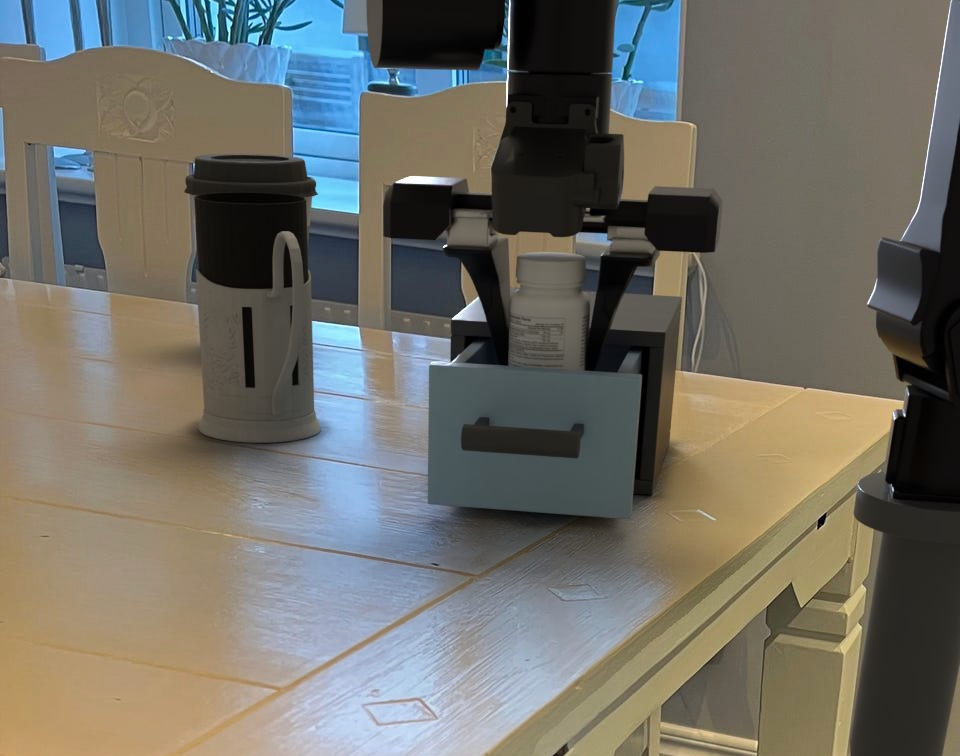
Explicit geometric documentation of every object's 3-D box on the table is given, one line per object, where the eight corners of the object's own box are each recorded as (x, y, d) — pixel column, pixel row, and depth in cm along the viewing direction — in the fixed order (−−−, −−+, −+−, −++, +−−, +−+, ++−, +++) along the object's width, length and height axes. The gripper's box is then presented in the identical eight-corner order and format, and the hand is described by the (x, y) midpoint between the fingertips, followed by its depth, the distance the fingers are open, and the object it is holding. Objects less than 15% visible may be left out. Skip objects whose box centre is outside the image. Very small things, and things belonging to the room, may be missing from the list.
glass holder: (298, 411, 120) (292, 190, 112) (365, 455, 109) (362, 213, 101) (184, 419, 116) (169, 191, 109) (241, 465, 105) (228, 215, 98)
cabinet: (652, 495, 102) (665, 332, 97) (448, 480, 103) (450, 319, 98) (669, 443, 114) (682, 296, 109) (486, 431, 116) (491, 285, 111)
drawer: (621, 541, 89) (632, 394, 85) (410, 525, 91) (411, 380, 87) (649, 465, 105) (659, 337, 100) (468, 452, 106) (471, 326, 102)
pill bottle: (549, 397, 98) (555, 248, 94) (601, 411, 95) (610, 258, 91) (489, 406, 96) (493, 253, 91) (542, 420, 93) (548, 264, 88)
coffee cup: (290, 363, 136) (284, 166, 128) (170, 352, 139) (157, 159, 131) (341, 341, 145) (338, 157, 137) (227, 331, 148) (218, 150, 140)
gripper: (357, 71, 81) (362, 391, 89) (725, 83, 78) (696, 412, 87) (404, 65, 90) (404, 356, 98) (734, 76, 88) (707, 373, 96)
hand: (547, 374), depth 95 cm, fingers closed on pill bottle, 5 cm apart
